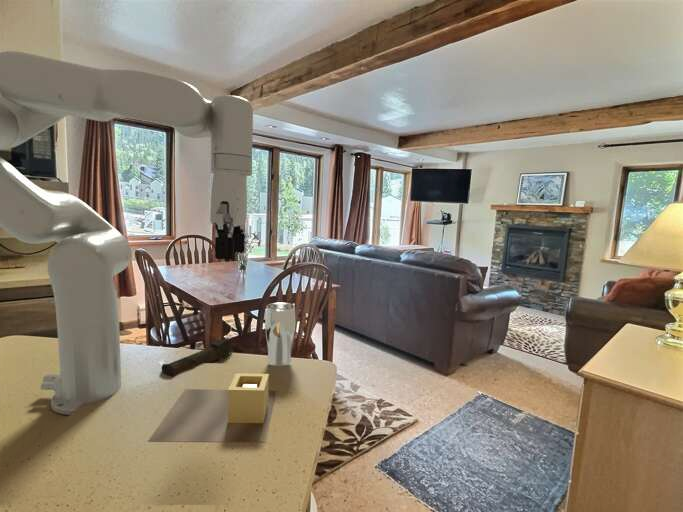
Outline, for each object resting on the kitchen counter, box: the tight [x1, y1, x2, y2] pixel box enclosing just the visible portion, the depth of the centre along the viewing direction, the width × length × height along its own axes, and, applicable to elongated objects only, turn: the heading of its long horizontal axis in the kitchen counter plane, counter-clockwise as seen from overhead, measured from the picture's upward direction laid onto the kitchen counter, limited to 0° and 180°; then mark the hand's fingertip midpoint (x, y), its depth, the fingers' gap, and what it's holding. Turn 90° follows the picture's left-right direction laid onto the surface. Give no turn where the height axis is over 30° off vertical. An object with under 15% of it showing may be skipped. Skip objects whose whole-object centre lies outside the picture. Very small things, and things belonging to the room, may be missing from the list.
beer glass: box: [264, 302, 296, 367], centre depth 87 cm, size 7×7×15 cm
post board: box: [147, 383, 278, 443], centre depth 65 cm, size 18×16×6 cm
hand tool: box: [161, 337, 234, 377], centre depth 86 cm, size 19×4×5 cm, turn 149°
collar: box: [227, 372, 270, 423], centre depth 65 cm, size 6×6×6 cm
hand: (230, 255), depth 72 cm, fingers open, 9 cm apart
